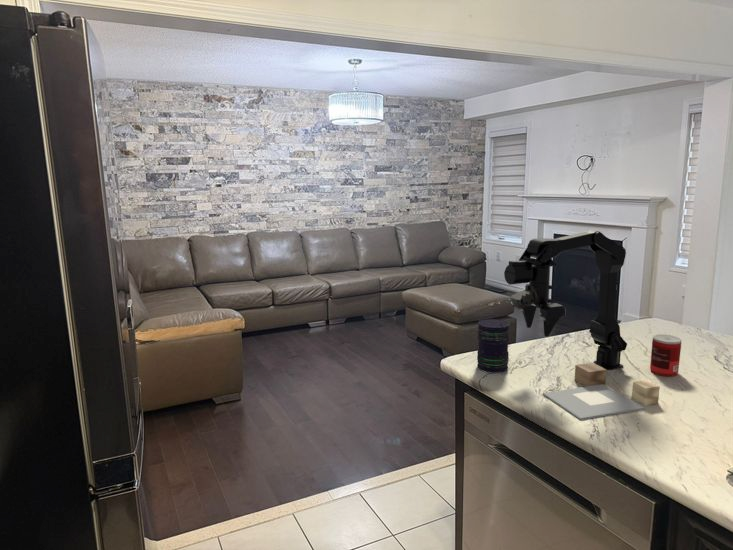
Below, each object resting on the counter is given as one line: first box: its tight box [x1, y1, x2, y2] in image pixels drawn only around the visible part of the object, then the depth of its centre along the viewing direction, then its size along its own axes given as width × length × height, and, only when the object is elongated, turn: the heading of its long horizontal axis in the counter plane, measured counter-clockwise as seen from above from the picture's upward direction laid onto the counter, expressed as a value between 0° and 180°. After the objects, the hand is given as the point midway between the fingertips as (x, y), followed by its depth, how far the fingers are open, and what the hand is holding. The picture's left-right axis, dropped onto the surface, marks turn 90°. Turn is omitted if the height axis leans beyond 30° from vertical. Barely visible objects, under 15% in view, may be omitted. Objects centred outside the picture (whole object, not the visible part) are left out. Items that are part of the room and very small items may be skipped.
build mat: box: [542, 384, 647, 421], centre depth 138 cm, size 20×16×1 cm
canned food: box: [649, 333, 682, 377], centre depth 156 cm, size 8×8×11 cm
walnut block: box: [574, 362, 608, 387], centre depth 150 cm, size 6×6×5 cm
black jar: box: [476, 318, 510, 374], centre depth 162 cm, size 10×10×15 cm
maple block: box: [631, 379, 661, 407], centre depth 137 cm, size 4×4×5 cm
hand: (537, 331), depth 153 cm, fingers open, 9 cm apart
